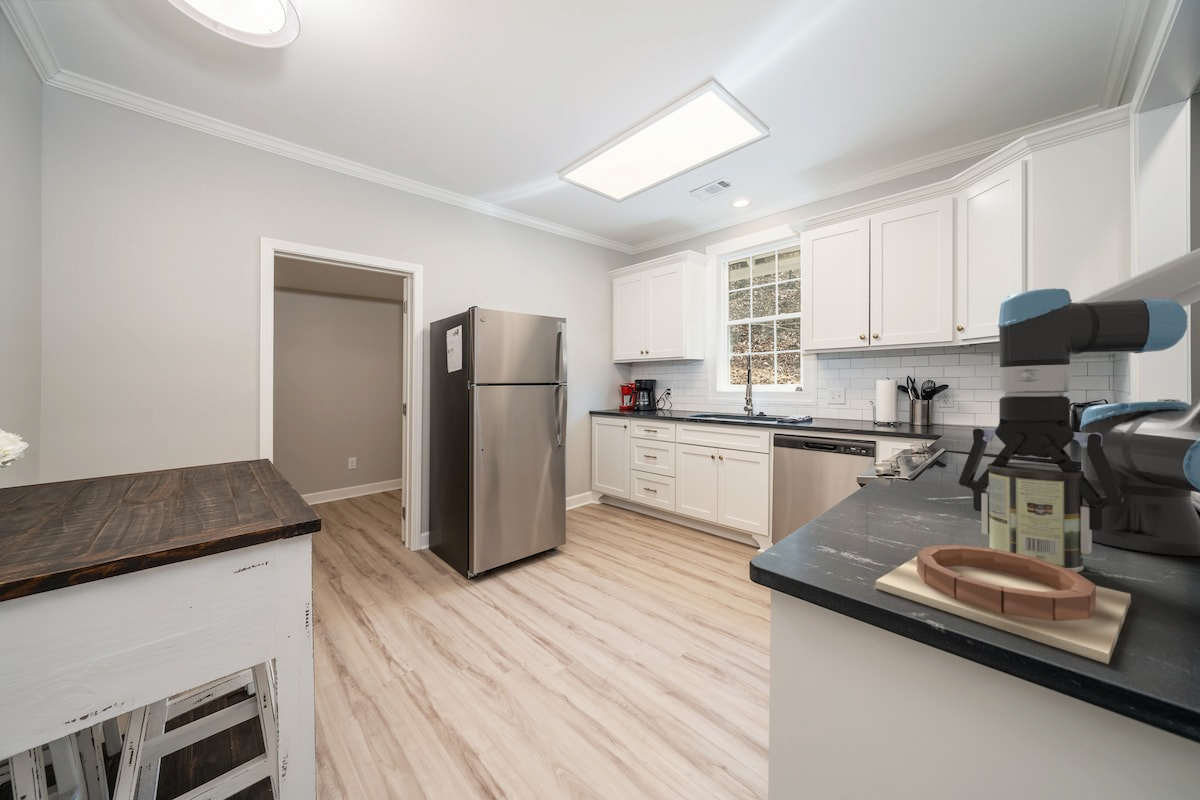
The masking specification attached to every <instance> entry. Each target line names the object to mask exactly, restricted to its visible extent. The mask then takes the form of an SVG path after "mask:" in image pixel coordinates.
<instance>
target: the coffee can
mask: <svg viewBox="0 0 1200 800" xmlns="http://www.w3.org/2000/svg"><path fill="white" fill-rule="evenodd" d="M991 464H992V462H990V463H987V468H988V469H989V485H988V491H989V534H988V537H989V539H988V540H989V545H988V548H992V549H993V550H994V549H998V550H1003V551H1007V552H1012V553H1017V554H1021V555H1026V556H1030V557H1034V558H1038V559H1041V560H1044V561H1047V562H1050V563H1053V564H1056V565H1059V566H1062V567H1064V568H1067V569H1070V570H1073V571H1075V572H1077V573H1079V572H1082V571H1084V569H1085V567H1084V553H1081V506H1082V505H1083V497H1082V495H1081V494H1080V493H1079V478H1081V477H1083V476H1084V471H1082V470H1081V469H1079V470H1080V471H1079V472H1077V473H1075V472H1071V473H1065V472H1063V471H1062V470H1061V468H1060V467H1059V466H1058V465H1057V464H1056V465H1055V464H1045V463H1035V462H1034V463H1032V462H1011V461H1009V462H1008V463H1007V464H1006V465H1004V466H1002V467H1001V466H995V465H991Z"/></svg>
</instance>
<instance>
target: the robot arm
mask: <svg viewBox="0 0 1200 800" xmlns="http://www.w3.org/2000/svg"><path fill="white" fill-rule="evenodd" d="M1199 301H1200V247H1199V248H1195V249H1194V250H1192V251H1189V252H1187V253H1185V254H1183V255H1180V256H1179V257H1177V258H1174V259H1170V260H1169V261H1166V262H1165V263H1162V264H1160V265H1157V266H1155V267H1153V268H1150V269H1148V270H1146V271H1145V272H1142V273H1140V274H1138V275H1135V276H1133V277H1131V278H1128V279H1126V280H1124V281H1122V282H1119V283H1117V284H1115V285H1112V286H1110V287H1108V288H1105V289H1104V290H1101V291H1099V292H1097V293H1094V294H1091V295H1090V296H1087V297H1085V298H1083V299H1081V300H1078V301H1076V302H1072V298H1071V294H1070V291H1069V290H1067V289H1065V288H1042V289H1033V290H1028V291H1022V292H1017V293H1013V294H1011V295H1010V294H1009V295H1008V296H1006V297H1005V298H1004V299H1003V300H1002V301H1001V303H1000V309H999V316H998V317H999V318H998V324H997V328H998V330H999V331H998V334H999V335H998V337H999V338H998V339H999V340H998V341H999V372H998V373H999V376H998V377H999V383H998V384H999V387H998V388H999V391H998V392H1000V393H1001V394H1004V396H1001V397H1000V398H999V400H998V401H999V412H998V413H999V414H998V415H999V416H998V417H999V419H998V420H999V423H998V425H997V427H996V428H985V427H978V428H974V429H973V430H972V439H973V440H972V441H973V444H972V445H971V448H970V451H969V453H968V456H967V458H966V461H965V464H964V465H963V466H964V467H963V469H962V472H961V474H960V477H959V479H958V485H960V486H961V487H966V488H968V489H970V490H972V493H973V500H972V501H973V510H974V511H976V512H981V534H982V535H988V536H989V490H987V488H989V469H988V467H987V468H986V470H985V471H984V472H983V473H982V474H981V476H980V477H979V478H978V479H977V480H975V476H976V473H977V471H978V469H979V466H980V464H981V461H982V459H983V456H984V455H985V451H986V448H987V446H988V443H989V442H991V441H992V440H993V437H995V436H996V437H997V438H998V439H999V440H1000V441H1001V442H1002V443H1003V444H1004V447H1003V448H1002V449H1001V450H1000V452H999V453H998V455H997V456H996V458H995V459H994V460H993V461H992V462H991V463H992V464H991V465H995V466H1001V467H1002V466H1004V465H1006V464H1007V463H1008V462H1011V461H1010V460H1012V458H1014V456H1019V457H1029V456H1032V457H1037V458H1041V459H1042V458H1043V459H1048V458H1050V459H1051V460H1052V461H1053V462H1054V463H1055V464H1056V465H1057V466H1059V467H1060V468H1061V470H1062V471H1063V472H1065V473H1071V472H1075V473H1077V472H1079V471H1080V470H1082V471H1084V476H1083V477H1081V478H1079V493H1080V494H1081V495H1082V497H1083V505H1082V506H1081V553H1083V555H1084V554H1085V555H1089V554H1090V553H1091V552H1092V549H1093V547H1092V546H1093V542H1095V543H1099V544H1102V545H1107V546H1111V547H1117V548H1121V549H1127V550H1133V551H1137V552H1143V553H1150V554H1159V555H1170V556H1171V555H1172V556H1181V557H1183V556H1185V557H1187V556H1189V557H1199V556H1200V517H1199V515H1198V513H1197V511H1196V509H1195V506H1194V505H1193V501H1192V492H1195V493H1199V494H1200V394H1199V395H1197V397H1196V398H1195V400H1193V401H1192V403H1190V404H1189V403H1188V402H1186V401H1175V400H1173V401H1167V400H1163V401H1159V400H1158V401H1134V402H1116V403H1107V404H1106V403H1105V404H1097V405H1092V406H1089V407H1086V408H1085V409H1084V410H1083V411H1082V414H1081V422H1080V426H1079V430H1080V432H1078V431H1074V429H1073V428H1072V427H1071V408H1070V407H1071V399H1070V398H1069V396H1065V393H1068V392H1070V390H1071V365H1070V364H1071V360H1070V359H1071V358H1077V357H1078V358H1079V357H1089V356H1101V355H1110V354H1126V353H1127V354H1128V353H1133V354H1142V353H1149V352H1161V351H1165V350H1168V349H1170V348H1172V347H1174V346H1175V345H1177V344H1179V342H1181V340H1182V338H1184V336H1185V334H1186V333H1187V330H1188V314H1187V312H1186V310H1185V307H1187V306H1190V305H1192V304H1194V303H1197V302H1199ZM1073 440H1075V441H1077V442H1078V443H1079V446H1080V448H1081V449H1080V450H1081V451H1080V452H1081V454H1080V455H1081V459H1080V461H1081V462H1080V463H1081V464H1080V465H1081V469H1079V467H1077V465H1076V464H1075V463H1074V461H1073V460H1072V459H1071V456H1070V455H1069V454H1068V453H1067V451H1066V450H1065V449H1064V448H1065V447H1066V446H1067V445H1069V444H1070V443H1071V442H1072V441H1073Z"/></svg>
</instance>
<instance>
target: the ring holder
mask: <svg viewBox="0 0 1200 800" xmlns="http://www.w3.org/2000/svg"><path fill="white" fill-rule="evenodd" d="M875 589H877V590H880V591H883V592H885V593H886V592H887V593H890V594H892V595H895V596H899V597H901V598H905V599H907V600H910V601H914V602H916V603H920V604H922V605H925V606H928V607H932V608H935V609H937V610H938V609H939V610H940V611H945V612H947V613H950V614H954V615H957V616H960V617H963V618H965V619H969V620H972V621H975V622H978V623H980V624H983V625H987V626H989V627H993V628H996V629H999V630H1002V631H1005V632H1008V633H1010V634H1015V635H1018V636H1021V637H1024V638H1026V639H1028V640H1029V639H1030V640H1033V641H1036V642H1038V643H1042V644H1045V645H1048V646H1051V647H1054V648H1058V649H1060V650H1064V651H1065V652H1069V653H1072V654H1075V655H1079V656H1080V657H1081V656H1082V657H1084V658H1088V659H1091V660H1094V661H1097V662H1101V663H1103V664H1106V665H1109V664H1110V661H1111V659H1112V655H1113V653H1114V649H1115V647H1116V645H1117V641H1118V639H1119V636H1120V633H1121V631H1122V628H1123V624H1124V622H1125V620H1126V616H1127V614H1128V611H1129V608H1130V605H1131V602H1132V600H1131V599H1132V596H1131V595H1132V593H1129V592H1125V591H1120V590H1115V589H1111V588H1108V587H1103V586H1099V585H1096V584H1095V583H1093V582H1092V581H1091V580H1089V579H1087V578H1086V577H1084V576H1082V575H1081V574H1080V573H1079V572H1075V571H1073V570H1070V569H1067V568H1064V567H1062V566H1059V565H1056V564H1053V563H1050V562H1047V561H1044V560H1041V559H1038V558H1034V557H1030V556H1026V555H1021V554H1017V553H1012V552H1007V551H1003V550H998V549H994V550H993V549H992V548H989V547H984V546H983V547H981V546H972V545H963V544H941V545H940V544H939V545H928V546H926V547H924V548H922V549H921V550H919V551H917V552H916V556H915V557H913V558H912V559H910V560H908V561H906V562H905V563H903V564H902V565H899V566H898V567H896V568H894V569H893V570H891V571H889V572H888V573H886V574H884V575H883V576H881V577H879V578H878V579H876V580H875Z"/></svg>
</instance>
